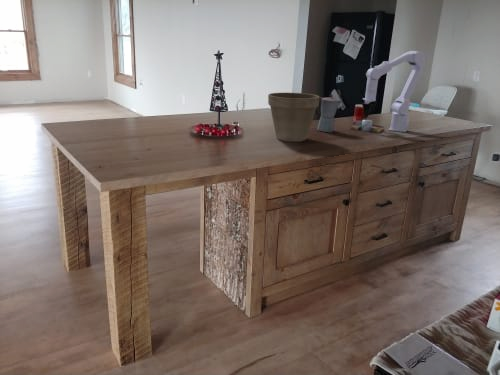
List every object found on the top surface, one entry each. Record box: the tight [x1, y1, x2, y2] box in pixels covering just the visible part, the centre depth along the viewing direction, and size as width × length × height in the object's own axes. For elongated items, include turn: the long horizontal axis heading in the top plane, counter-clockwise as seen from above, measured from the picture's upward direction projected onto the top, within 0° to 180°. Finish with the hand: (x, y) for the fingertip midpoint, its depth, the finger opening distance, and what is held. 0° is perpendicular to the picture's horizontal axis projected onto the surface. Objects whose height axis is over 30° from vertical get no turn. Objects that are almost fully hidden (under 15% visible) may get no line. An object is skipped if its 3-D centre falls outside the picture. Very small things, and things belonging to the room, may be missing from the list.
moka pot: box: [315, 94, 343, 133], centre depth 244 cm, size 10×15×20 cm, turn 78°
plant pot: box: [267, 92, 320, 143], centre depth 221 cm, size 25×25×22 cm
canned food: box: [353, 104, 368, 125], centre depth 272 cm, size 8×8×11 cm
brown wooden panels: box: [350, 124, 384, 134], centre depth 256 cm, size 16×11×1 cm
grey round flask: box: [354, 119, 373, 132], centre depth 255 cm, size 9×6×6 cm, turn 62°
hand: (367, 115), depth 252 cm, fingers open, 7 cm apart
